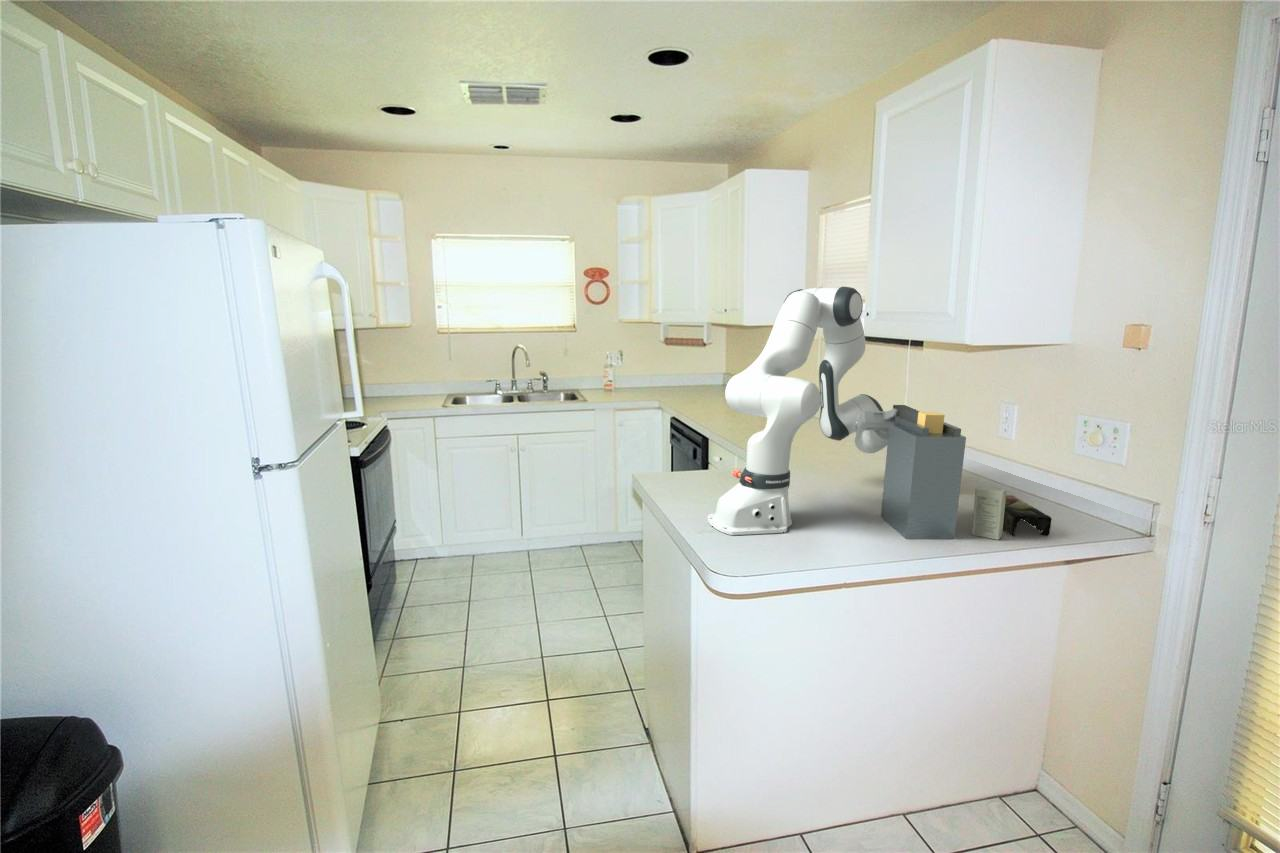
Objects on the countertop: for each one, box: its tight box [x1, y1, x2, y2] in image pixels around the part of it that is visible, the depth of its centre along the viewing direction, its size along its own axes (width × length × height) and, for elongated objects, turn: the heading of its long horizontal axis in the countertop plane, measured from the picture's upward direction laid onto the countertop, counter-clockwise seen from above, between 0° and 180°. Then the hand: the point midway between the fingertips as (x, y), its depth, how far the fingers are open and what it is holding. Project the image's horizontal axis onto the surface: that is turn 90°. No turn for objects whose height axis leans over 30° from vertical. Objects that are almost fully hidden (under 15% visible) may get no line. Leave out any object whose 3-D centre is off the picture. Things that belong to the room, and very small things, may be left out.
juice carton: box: [1003, 494, 1053, 537], centre depth 163 cm, size 20×10×6 cm, turn 176°
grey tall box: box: [880, 416, 967, 540], centre depth 157 cm, size 16×12×28 cm
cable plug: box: [892, 404, 946, 433], centre depth 160 cm, size 21×5×5 cm, turn 0°
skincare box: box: [971, 485, 1007, 541], centre depth 153 cm, size 6×4×12 cm
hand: (905, 411), depth 166 cm, fingers closed on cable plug, 3 cm apart
